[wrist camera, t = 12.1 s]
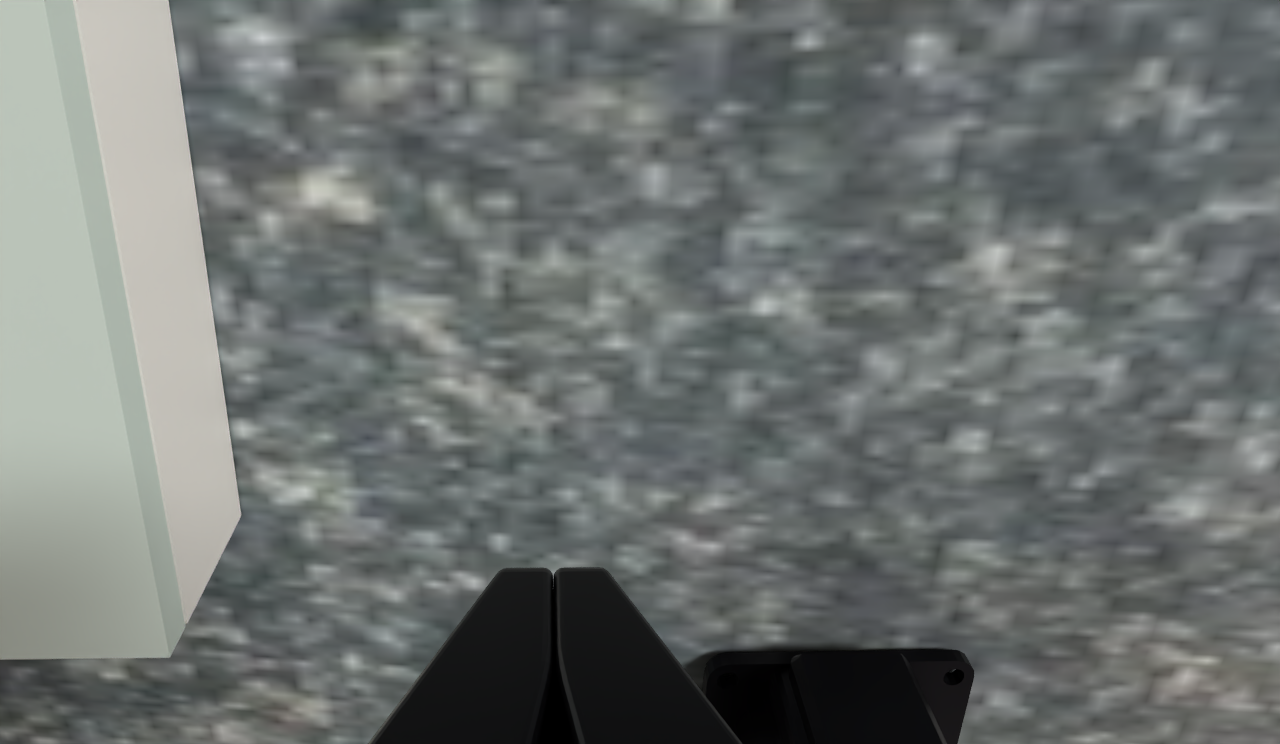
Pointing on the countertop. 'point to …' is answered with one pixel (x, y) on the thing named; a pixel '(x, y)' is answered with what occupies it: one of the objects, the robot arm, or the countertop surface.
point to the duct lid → (69, 377)
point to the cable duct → (163, 274)
